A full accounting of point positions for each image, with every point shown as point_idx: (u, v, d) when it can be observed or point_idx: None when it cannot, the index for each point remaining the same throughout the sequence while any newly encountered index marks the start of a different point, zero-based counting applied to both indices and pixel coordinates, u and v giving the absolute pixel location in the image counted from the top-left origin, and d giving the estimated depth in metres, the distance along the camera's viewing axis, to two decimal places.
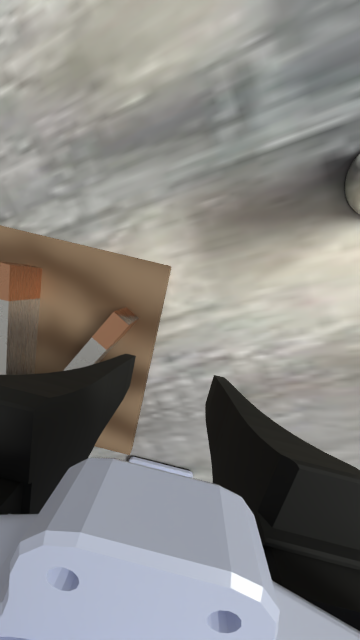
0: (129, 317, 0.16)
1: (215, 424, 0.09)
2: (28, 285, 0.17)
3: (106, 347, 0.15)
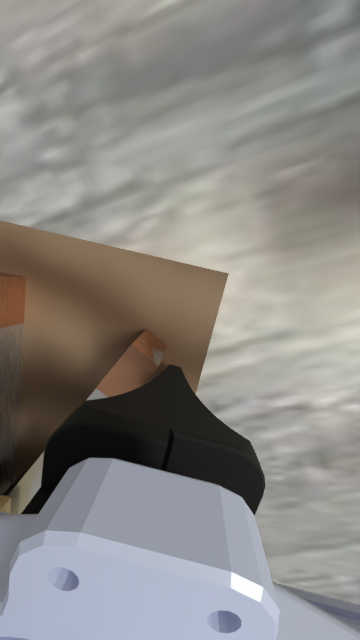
0: (155, 348, 0.10)
1: None
2: (2, 306, 0.10)
3: None
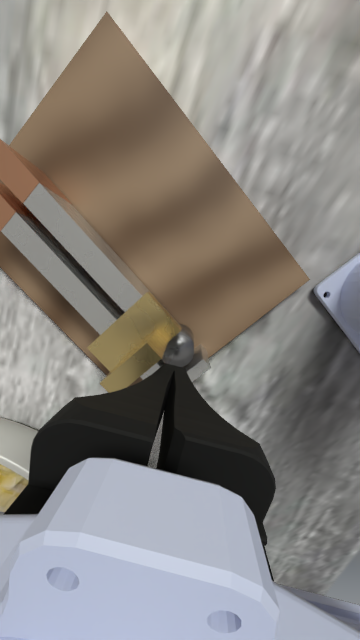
0: None
1: (167, 411, 0.09)
2: (25, 206, 0.13)
3: (35, 181, 0.11)
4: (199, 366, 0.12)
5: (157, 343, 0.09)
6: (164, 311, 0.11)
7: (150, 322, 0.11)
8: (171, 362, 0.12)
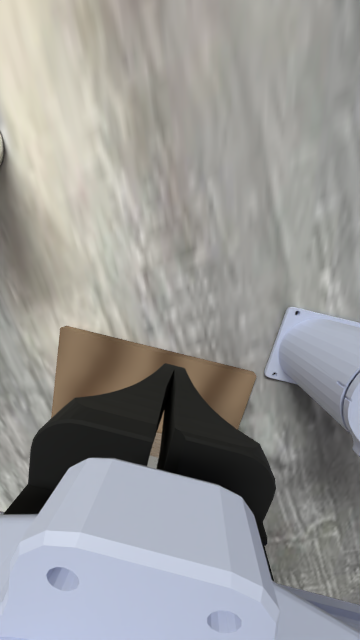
0: None
1: (167, 411, 0.09)
2: None
3: None
4: None
5: None
6: None
7: None
8: None
